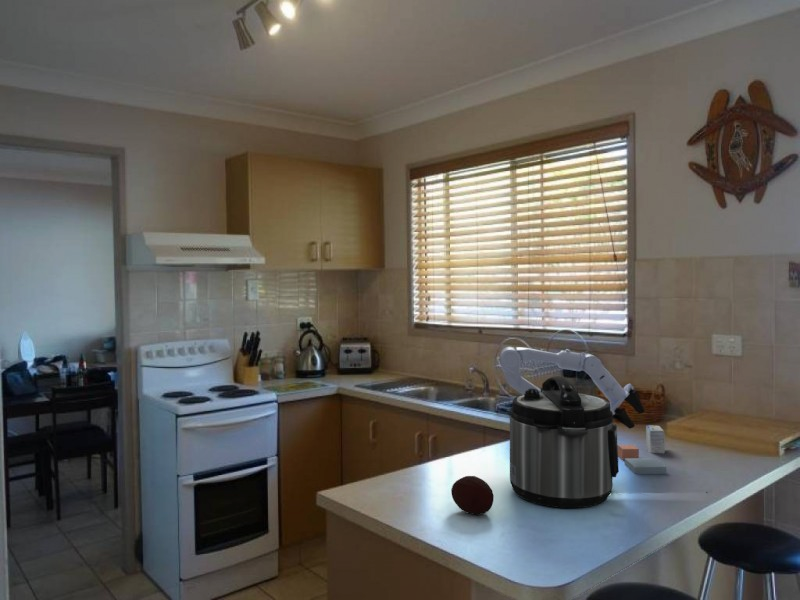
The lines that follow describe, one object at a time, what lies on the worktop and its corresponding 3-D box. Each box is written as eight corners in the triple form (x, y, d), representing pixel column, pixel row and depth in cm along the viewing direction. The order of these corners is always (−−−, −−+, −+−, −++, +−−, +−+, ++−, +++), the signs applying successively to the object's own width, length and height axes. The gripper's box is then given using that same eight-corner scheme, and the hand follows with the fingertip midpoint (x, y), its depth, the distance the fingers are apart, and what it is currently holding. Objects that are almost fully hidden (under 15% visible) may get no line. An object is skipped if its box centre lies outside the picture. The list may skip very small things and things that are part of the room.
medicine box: (664, 457, 204) (664, 431, 203) (650, 457, 205) (650, 430, 204) (659, 451, 211) (659, 425, 211) (645, 450, 212) (645, 425, 212)
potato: (481, 524, 151) (480, 485, 150) (443, 512, 159) (442, 475, 159) (502, 514, 157) (502, 477, 157) (464, 502, 165) (464, 467, 165)
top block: (635, 474, 183) (635, 467, 183) (624, 464, 192) (624, 458, 192) (666, 473, 183) (666, 466, 183) (654, 464, 192) (654, 458, 192)
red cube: (622, 465, 197) (622, 449, 196) (617, 460, 202) (617, 444, 202) (638, 464, 197) (638, 448, 196) (633, 460, 202) (633, 444, 201)
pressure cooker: (596, 523, 151) (595, 390, 150) (489, 500, 167) (488, 381, 166) (631, 488, 175) (631, 374, 174) (536, 471, 192) (535, 367, 191)
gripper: (607, 396, 193) (636, 430, 192) (628, 369, 201) (656, 402, 201) (591, 402, 198) (620, 436, 198) (612, 376, 207) (639, 408, 206)
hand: (637, 419), depth 200 cm, fingers open, 7 cm apart
